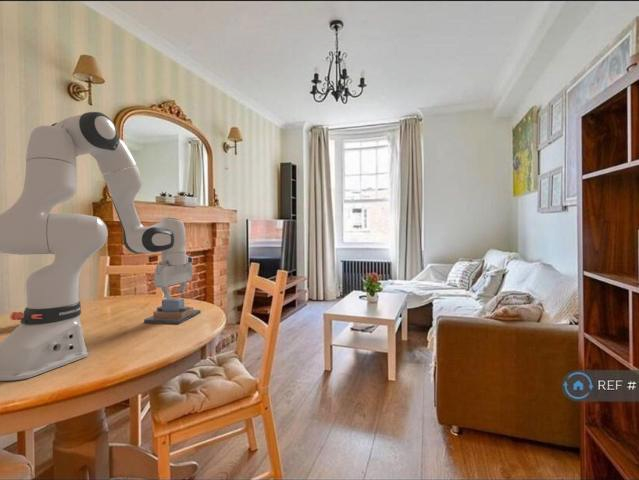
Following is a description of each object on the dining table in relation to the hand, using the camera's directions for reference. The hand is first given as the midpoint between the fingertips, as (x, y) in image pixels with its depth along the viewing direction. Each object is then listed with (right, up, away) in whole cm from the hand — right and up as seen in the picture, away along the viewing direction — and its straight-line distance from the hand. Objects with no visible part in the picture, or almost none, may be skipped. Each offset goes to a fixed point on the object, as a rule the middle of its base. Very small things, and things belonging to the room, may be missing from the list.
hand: (174, 295), depth 131 cm
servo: (-1, -8, +1) cm, 8 cm away
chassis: (-1, -9, +1) cm, 9 cm away
